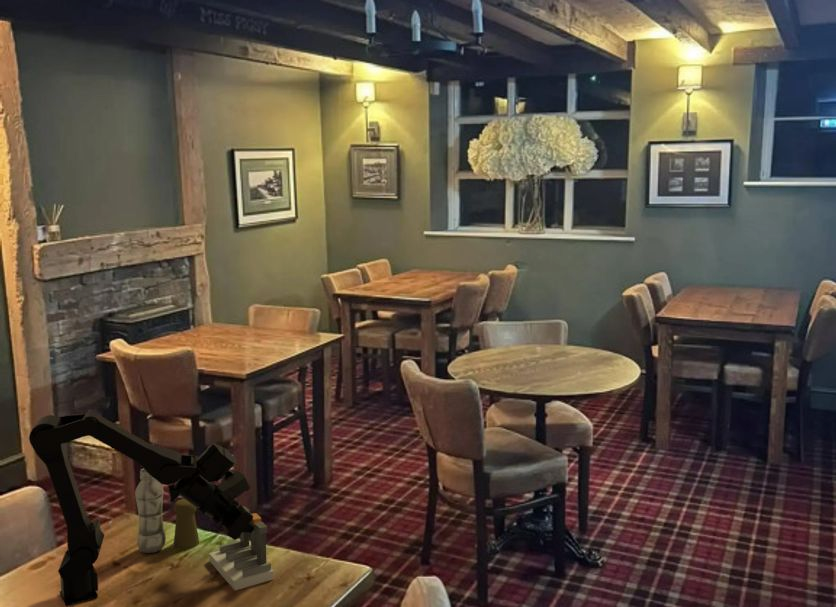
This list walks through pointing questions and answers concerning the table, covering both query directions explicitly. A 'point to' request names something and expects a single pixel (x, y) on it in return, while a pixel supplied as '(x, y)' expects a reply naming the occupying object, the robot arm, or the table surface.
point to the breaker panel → (240, 566)
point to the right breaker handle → (261, 542)
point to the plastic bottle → (150, 514)
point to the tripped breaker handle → (254, 534)
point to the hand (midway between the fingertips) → (251, 530)
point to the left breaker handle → (244, 536)
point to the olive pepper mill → (185, 525)
